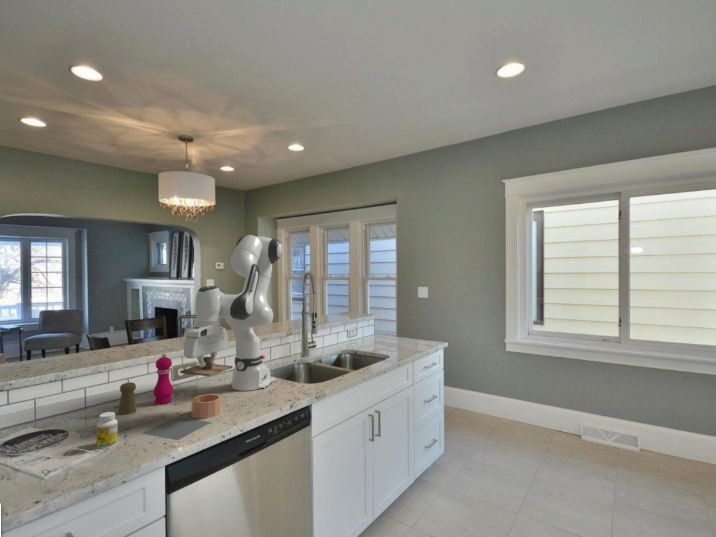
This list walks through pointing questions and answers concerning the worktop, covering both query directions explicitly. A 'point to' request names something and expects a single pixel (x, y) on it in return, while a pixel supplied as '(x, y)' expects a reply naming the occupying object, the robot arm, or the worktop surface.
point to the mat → (176, 428)
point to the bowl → (206, 406)
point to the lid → (206, 368)
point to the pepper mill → (163, 381)
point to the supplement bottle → (106, 430)
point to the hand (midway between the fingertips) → (207, 365)
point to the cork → (127, 399)
